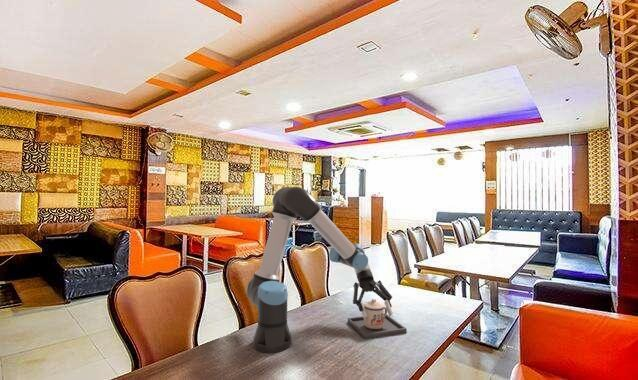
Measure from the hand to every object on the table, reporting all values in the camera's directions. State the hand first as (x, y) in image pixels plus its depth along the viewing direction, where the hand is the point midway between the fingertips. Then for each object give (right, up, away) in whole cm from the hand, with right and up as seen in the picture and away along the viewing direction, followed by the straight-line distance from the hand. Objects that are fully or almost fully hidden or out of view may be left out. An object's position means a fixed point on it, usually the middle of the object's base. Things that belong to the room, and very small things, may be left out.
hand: (378, 316), depth 140 cm
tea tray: (-1, -6, +2) cm, 6 cm away
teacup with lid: (-1, -5, +2) cm, 5 cm away
